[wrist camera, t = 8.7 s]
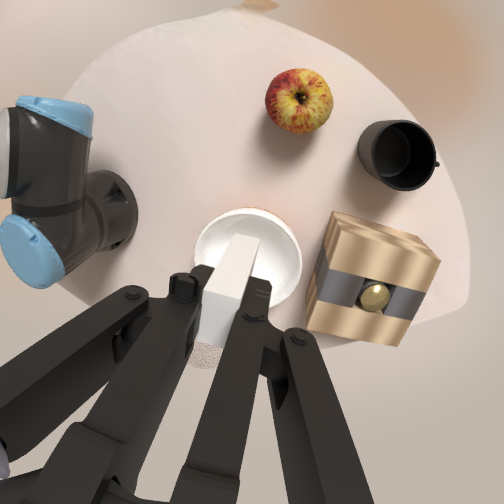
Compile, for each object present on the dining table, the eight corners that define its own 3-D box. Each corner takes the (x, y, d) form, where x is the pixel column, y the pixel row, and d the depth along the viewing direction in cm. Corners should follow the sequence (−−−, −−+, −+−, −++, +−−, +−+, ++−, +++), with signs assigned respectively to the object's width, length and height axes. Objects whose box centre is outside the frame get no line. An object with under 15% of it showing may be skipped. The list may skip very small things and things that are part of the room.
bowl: (308, 205, 47) (311, 219, 39) (293, 292, 53) (292, 318, 46) (209, 192, 48) (194, 204, 41) (206, 279, 54) (193, 302, 47)
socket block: (305, 295, 53) (306, 329, 44) (332, 210, 46) (341, 231, 37) (384, 313, 52) (397, 346, 43) (417, 236, 46) (441, 260, 36)
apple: (279, 69, 39) (274, 53, 30) (336, 87, 39) (347, 76, 29) (262, 122, 42) (253, 120, 33) (319, 141, 42) (325, 143, 33)
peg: (347, 278, 49) (356, 308, 41) (356, 255, 47) (367, 282, 39) (370, 284, 49) (382, 314, 40) (380, 262, 47) (394, 288, 39)
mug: (420, 188, 42) (444, 202, 34) (353, 173, 43) (366, 183, 35) (430, 133, 39) (456, 136, 30) (361, 114, 40) (377, 111, 31)
